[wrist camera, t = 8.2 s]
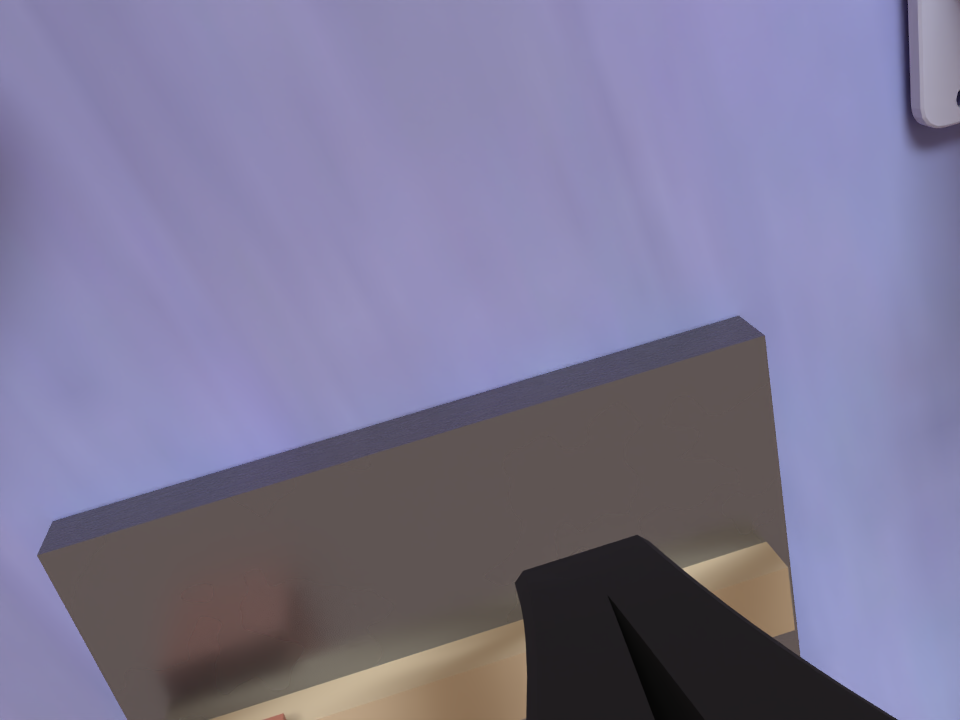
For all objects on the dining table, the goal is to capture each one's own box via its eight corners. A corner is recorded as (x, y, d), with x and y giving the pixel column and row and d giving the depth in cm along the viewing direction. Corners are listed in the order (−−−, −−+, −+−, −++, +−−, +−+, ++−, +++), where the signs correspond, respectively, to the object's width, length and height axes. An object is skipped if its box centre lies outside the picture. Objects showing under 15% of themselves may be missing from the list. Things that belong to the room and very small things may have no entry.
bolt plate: (738, 316, 19) (767, 336, 18) (793, 763, 25) (817, 802, 24) (52, 521, 18) (35, 557, 17) (274, 940, 24) (273, 989, 23)
